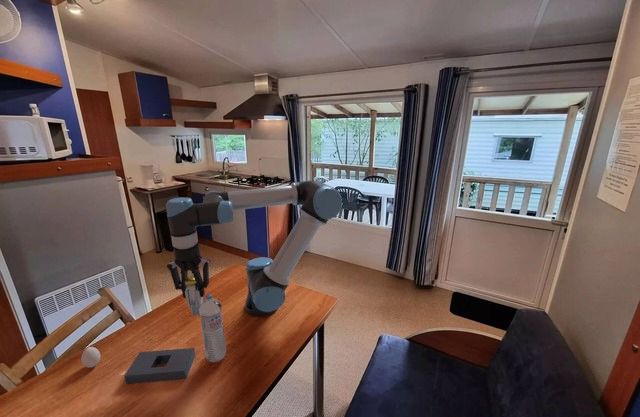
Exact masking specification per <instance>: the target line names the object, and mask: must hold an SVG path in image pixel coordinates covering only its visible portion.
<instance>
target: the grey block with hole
mask: <svg viewBox="0 0 640 417" xmlns="http://www.w3.org/2000/svg"><path fill="white" fill-rule="evenodd" d="M196 355H197V354H196V350H195V347H192V348H191V347H190V348H189V347H187V348H176V349H175V348H174V349H162V350H149V351H140V352H138V354H137V355H136V357H135V359H133V361H132V363H131V365H130V366H129V367H128V369H127V371H126V373H125V374H124V375H123V377H124V380H125V385H134V384H145V383H156V382H167V381H168V382H169V381H177V380H187V379H188V376H189V373H190V371H191V368H192V366H193V363H194V362H195V361H194V360H195V358H196V357H197V356H196ZM160 364H161V365H162V364H163V365H164V364H165V366H159V365H160Z"/></svg>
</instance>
